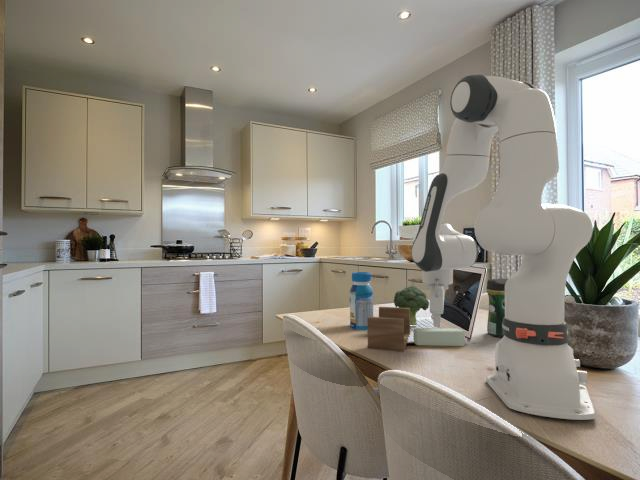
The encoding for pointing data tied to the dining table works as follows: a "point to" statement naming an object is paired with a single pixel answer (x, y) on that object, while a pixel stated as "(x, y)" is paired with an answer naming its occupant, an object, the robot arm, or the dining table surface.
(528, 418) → the dining table surface
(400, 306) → the vegetable
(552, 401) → the robot arm
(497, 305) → the coffee jar
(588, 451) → the dining table surface
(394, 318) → the wooden napkin holder
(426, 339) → the pale green rectangular bar
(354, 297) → the beverage bottle
